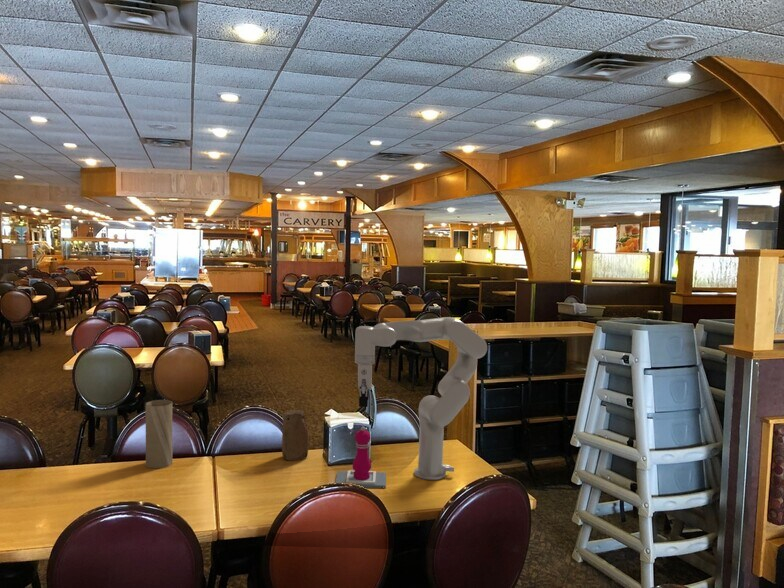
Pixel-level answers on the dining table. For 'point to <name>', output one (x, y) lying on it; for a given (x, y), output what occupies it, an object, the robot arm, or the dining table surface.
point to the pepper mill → (362, 455)
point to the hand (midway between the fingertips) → (363, 403)
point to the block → (294, 435)
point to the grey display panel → (373, 482)
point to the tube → (158, 434)
